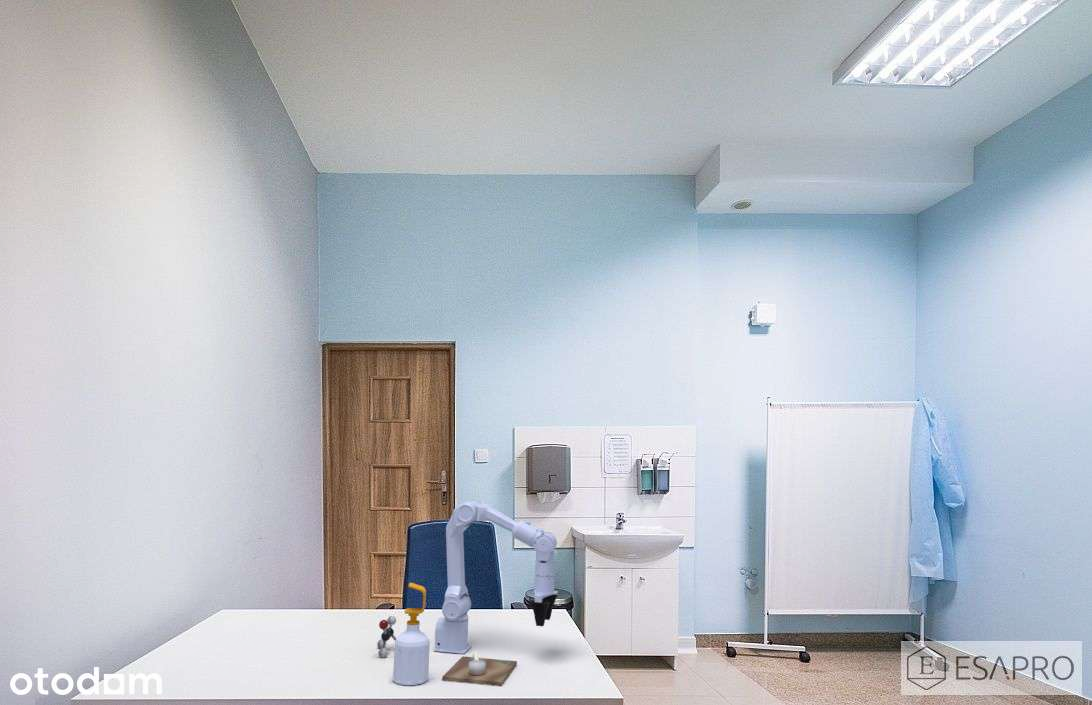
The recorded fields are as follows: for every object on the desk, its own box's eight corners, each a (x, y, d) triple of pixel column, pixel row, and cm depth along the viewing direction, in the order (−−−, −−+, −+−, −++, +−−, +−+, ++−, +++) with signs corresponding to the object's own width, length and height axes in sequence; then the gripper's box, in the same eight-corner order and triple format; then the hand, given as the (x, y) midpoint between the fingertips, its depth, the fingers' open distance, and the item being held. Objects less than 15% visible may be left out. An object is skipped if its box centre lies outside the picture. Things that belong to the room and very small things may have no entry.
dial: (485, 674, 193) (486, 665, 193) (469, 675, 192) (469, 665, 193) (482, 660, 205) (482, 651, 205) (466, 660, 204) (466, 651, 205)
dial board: (442, 680, 191) (442, 675, 191) (462, 659, 209) (462, 655, 209) (501, 686, 188) (501, 681, 188) (516, 664, 206) (516, 660, 206)
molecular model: (405, 648, 219) (407, 611, 220) (395, 660, 207) (397, 621, 208) (378, 647, 219) (380, 610, 220) (366, 659, 207) (369, 620, 208)
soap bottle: (395, 674, 195) (399, 580, 198) (429, 674, 196) (433, 580, 198) (390, 686, 186) (395, 587, 189) (426, 686, 187) (431, 587, 189)
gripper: (552, 580, 208) (550, 630, 206) (563, 571, 222) (561, 617, 220) (528, 578, 209) (526, 627, 208) (540, 570, 223) (539, 615, 222)
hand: (543, 622), depth 214 cm, fingers open, 7 cm apart
